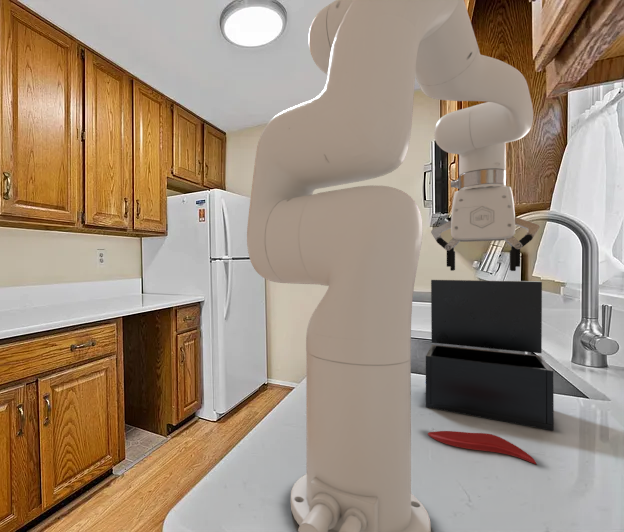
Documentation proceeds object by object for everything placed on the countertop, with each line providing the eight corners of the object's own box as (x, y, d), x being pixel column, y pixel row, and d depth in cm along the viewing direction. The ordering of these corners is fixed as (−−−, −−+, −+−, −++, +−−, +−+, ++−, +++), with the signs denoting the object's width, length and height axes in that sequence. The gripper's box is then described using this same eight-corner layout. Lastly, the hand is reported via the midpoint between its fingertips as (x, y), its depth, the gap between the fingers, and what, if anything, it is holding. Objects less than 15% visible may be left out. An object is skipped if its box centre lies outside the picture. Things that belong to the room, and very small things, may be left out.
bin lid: (542, 281, 63) (537, 279, 68) (431, 280, 73) (433, 277, 77) (541, 353, 64) (536, 346, 68) (431, 342, 73) (433, 336, 78)
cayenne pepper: (539, 458, 47) (539, 442, 47) (533, 471, 44) (533, 455, 44) (435, 427, 56) (435, 414, 56) (423, 436, 52) (423, 423, 52)
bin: (553, 430, 54) (553, 370, 54) (425, 407, 64) (425, 356, 64) (541, 406, 64) (541, 355, 64) (431, 389, 73) (431, 344, 73)
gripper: (429, 185, 74) (429, 270, 74) (542, 173, 65) (542, 270, 65) (432, 192, 81) (432, 270, 80) (536, 182, 71) (536, 271, 71)
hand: (481, 270), depth 72 cm, fingers open, 9 cm apart
